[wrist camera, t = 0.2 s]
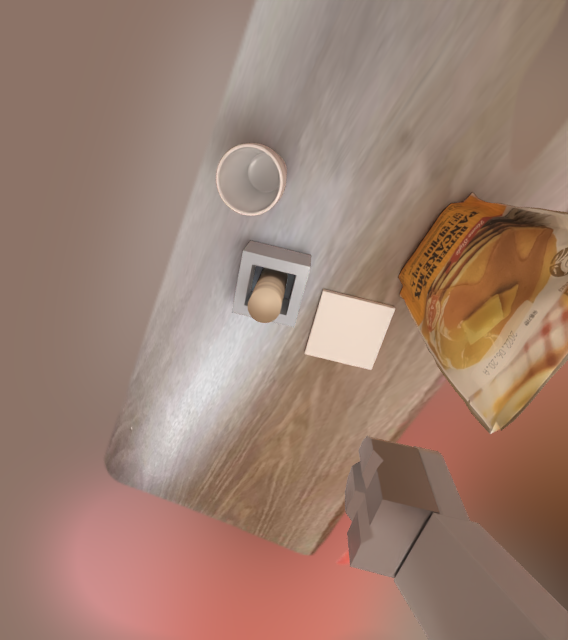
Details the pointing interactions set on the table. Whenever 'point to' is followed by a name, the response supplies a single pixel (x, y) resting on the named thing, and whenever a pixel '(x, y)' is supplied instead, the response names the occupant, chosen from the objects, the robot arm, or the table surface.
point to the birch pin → (267, 295)
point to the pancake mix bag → (492, 303)
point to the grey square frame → (276, 261)
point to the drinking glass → (251, 178)
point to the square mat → (348, 329)
